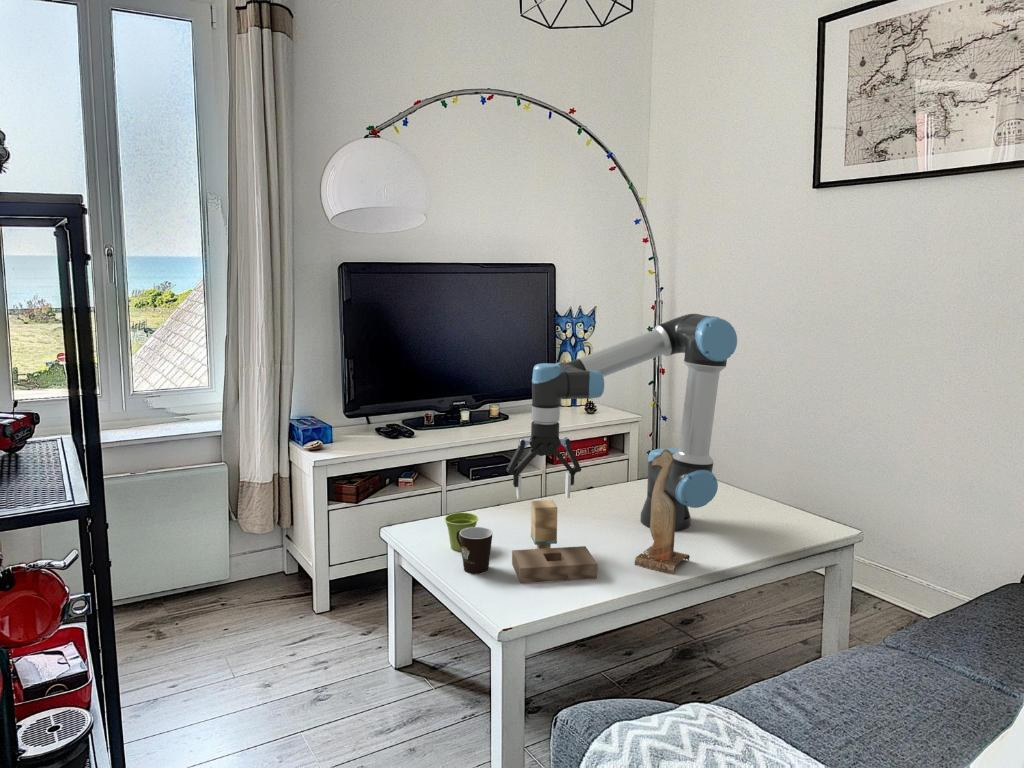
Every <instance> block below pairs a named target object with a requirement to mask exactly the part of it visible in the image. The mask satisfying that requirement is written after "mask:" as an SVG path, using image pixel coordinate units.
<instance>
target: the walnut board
mask: <svg viewBox="0 0 1024 768" xmlns="http://www.w3.org/2000/svg"><path fill="white" fill-rule="evenodd" d="M598 564H599V563H598V562H597V561H596V559H595V558H594V556H593V555H592V553H591V552H590V551H589V549H588V548H587V547H586V545H583V546H582V545H581V546H564V547H562V546H561V547H551V548H544V549H537V548H532V549H530V548H529V549H514V550H513V549H512V551H511V565H512V568H513V570H514V572H515V575H516V577H517V579H518V582H519V584H531V583H549V582H550V583H551V582H561V581H562V582H564V581H577V580H579V581H580V580H581V581H582V580H593V579H594V580H596V579H598Z"/></svg>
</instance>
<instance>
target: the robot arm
mask: <svg viewBox="0 0 1024 768" xmlns="http://www.w3.org/2000/svg"><path fill="white" fill-rule="evenodd" d="M737 345H738V336H737V331H736V329H735V328H734V326H733V325H732V324H731V322H729V321H727V320H726V319H723V318H720V317H718V316H713V315H711V316H710V315H704V314H699V313H688V314H684V315H680V316H677V317H675V318H673V319H670V320H668V321H665V322H663V323H660V324H657V325H656V326H655V327H654V329H653V330H651V331H649V332H645V333H643V334H641V335H637V336H634V337H632V338H629V339H627V340H625V341H624V340H623V341H622V342H619V343H617V344H614V345H611V346H609V347H607V348H602V349H601V350H598V351H595V352H593V353H590V354H588V355H584V356H582V357H579V358H577V359H573V360H571V361H569V362H564V361H561V362H560V361H559V362H556V363H547V362H544V363H538V364H535V365H534V366H533V369H532V370H533V371H532V379H531V384H532V385H531V393H532V394H531V395H532V396H531V397H532V398H531V420H532V422H531V425H530V426H531V427H530V439H524V438H519V440H518V446H517V448H516V450H515V452H514V454H513V455H512V457H511V459H510V462H509V463H508V465H507V467H506V472H507V473H508V474H509V475H513V476H512V481H513V482H512V485H513V487H514V488H516V499H517V500H518V501H521V500H522V478H523V477H522V474H521V473H522V471H524V470H525V468H527V466H528V465H529V464H530V462H531V461H532V460H533V459H534V458H536V457H537V456H539V457H544V456H548V457H549V456H553V455H555V457H556V458H557V459H558V460H559V461H560V462H561V464H562V465H563V466H564V467H565V469H566V470H568V471H566V472H565V487H564V490H565V491H564V495H565V497H566V498H567V499H571V486H574V485H575V476H576V474H577V473H580V472H582V467H581V466H580V465H581V464H579V461H578V459H577V457H576V454H575V453H574V451H573V448H572V445H571V439H570V438H568V437H564V438H561V439H560V423H559V421H560V419H561V418H560V415H561V414H560V413H561V411H560V409H561V400H575V399H576V400H577V399H579V400H580V399H582V400H585V399H586V400H587V399H588V400H591V399H599V398H600V397H602V396H603V394H604V391H605V378H604V377H606V376H610V375H612V374H615V373H617V372H620V371H623V370H626V369H628V368H631V367H634V366H636V365H639V364H642V363H644V362H647V361H649V360H652V359H655V358H658V357H660V356H662V355H663V356H665V357H669V356H670V357H671V356H672V355H675V354H676V355H677V354H684V357H683V358H684V359H683V363H684V364H685V365H686V367H687V368H688V369H687V370H688V372H687V379H686V387H685V388H686V389H685V395H684V401H683V402H684V404H683V411H682V412H683V413H682V419H681V425H680V426H681V427H680V428H681V429H680V434H679V435H680V436H679V443H678V448H672V447H671V448H670V447H669V448H656V449H652V450H651V451H650V452H648V453H649V454H648V459H647V460H648V461H647V489H646V491H647V492H646V493H647V494H646V495H647V496H646V499H645V502H644V503H643V507H642V510H641V512H640V519H639V520H640V523H641V524H642V525H643V526H646V527H648V528H650V520H651V499H652V492H653V489H654V485H655V482H656V480H657V477H658V475H659V472H660V470H661V468H660V467H652V461H653V458H654V457H656V456H658V455H660V454H661V453H662V452H663V451H664V449H667V450H669V451H670V452H671V453H672V455H673V462H672V464H671V466H670V469H669V472H668V475H667V478H666V483H665V489H664V492H665V493H666V494H667V495H668V496H669V497H670V499H671V500H672V502H673V504H674V506H675V511H676V515H675V531H681V530H686V529H687V528H689V527H690V526H691V521H692V520H691V519H692V518H691V514H690V510H689V508H692V509H693V508H694V509H696V508H697V509H698V508H702V507H705V506H706V505H708V503H709V502H711V501H713V500H714V498H715V497H716V494H717V492H718V489H719V488H718V487H719V485H718V484H719V482H718V479H717V477H716V476H715V474H714V473H713V467H714V459H712V457H711V456H710V449H711V442H712V433H713V425H714V417H715V410H716V403H717V397H718V396H717V395H718V389H719V379H720V372H722V371H723V370H724V369H725V368H726V367H727V364H728V363H727V362H728V361H727V360H728V359H730V358H731V356H732V355H734V353H735V351H736V349H737ZM560 445H562V447H564V448H565V451H566V452H567V454H568V456H569V458H570V460H571V463H572V465H573V467H572V466H571V465H570V463H569V462H567V460H566V459H565V458H564V457H563V455H562V454H561V453H560V451H558V448H559V447H560ZM528 446H530V447H531V449H530V450H529V451H528V453H527V454H526V455H525V457H523V459H522V460H521V461H520V459H521V457H522V454H523V453H524V450H525V449H526V448H528ZM519 461H520V462H519ZM517 464H518V465H517Z"/></svg>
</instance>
